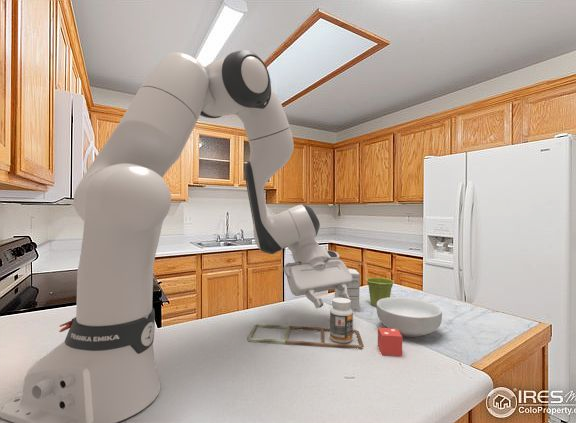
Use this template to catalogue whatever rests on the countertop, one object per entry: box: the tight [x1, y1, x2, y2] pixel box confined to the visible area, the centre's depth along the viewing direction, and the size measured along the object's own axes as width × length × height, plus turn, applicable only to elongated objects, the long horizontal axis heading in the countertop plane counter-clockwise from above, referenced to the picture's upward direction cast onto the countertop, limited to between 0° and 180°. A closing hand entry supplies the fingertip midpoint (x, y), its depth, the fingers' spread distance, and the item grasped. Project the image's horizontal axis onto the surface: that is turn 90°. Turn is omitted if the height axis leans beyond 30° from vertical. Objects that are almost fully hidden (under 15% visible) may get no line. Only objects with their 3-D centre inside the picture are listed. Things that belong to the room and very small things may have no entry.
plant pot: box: [365, 277, 395, 308], centre depth 102 cm, size 9×9×9 cm
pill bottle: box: [329, 297, 354, 344], centre depth 74 cm, size 6×6×10 cm
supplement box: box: [334, 268, 361, 312], centre depth 98 cm, size 7×7×13 cm
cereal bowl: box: [376, 296, 443, 338], centre depth 80 cm, size 17×17×7 cm
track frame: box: [246, 323, 365, 350], centre depth 75 cm, size 28×10×1 cm, turn 84°
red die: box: [377, 327, 403, 357], centre depth 68 cm, size 4×4×5 cm
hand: (333, 303), depth 76 cm, fingers open, 8 cm apart
